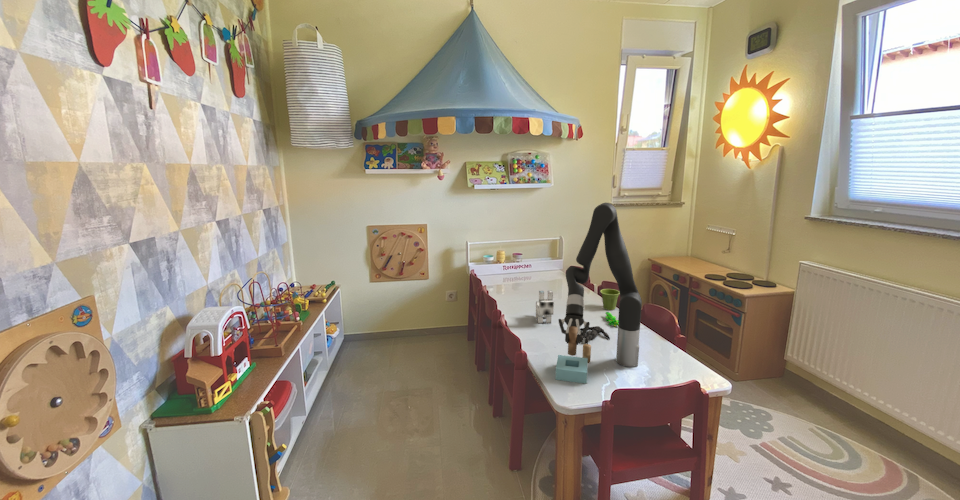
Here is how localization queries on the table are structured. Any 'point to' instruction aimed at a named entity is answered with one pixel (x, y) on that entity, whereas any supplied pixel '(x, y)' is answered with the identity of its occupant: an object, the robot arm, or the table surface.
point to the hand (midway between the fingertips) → (572, 343)
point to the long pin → (572, 340)
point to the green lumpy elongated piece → (611, 319)
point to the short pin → (587, 352)
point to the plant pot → (609, 298)
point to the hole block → (571, 369)
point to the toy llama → (544, 307)
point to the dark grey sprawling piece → (593, 333)
